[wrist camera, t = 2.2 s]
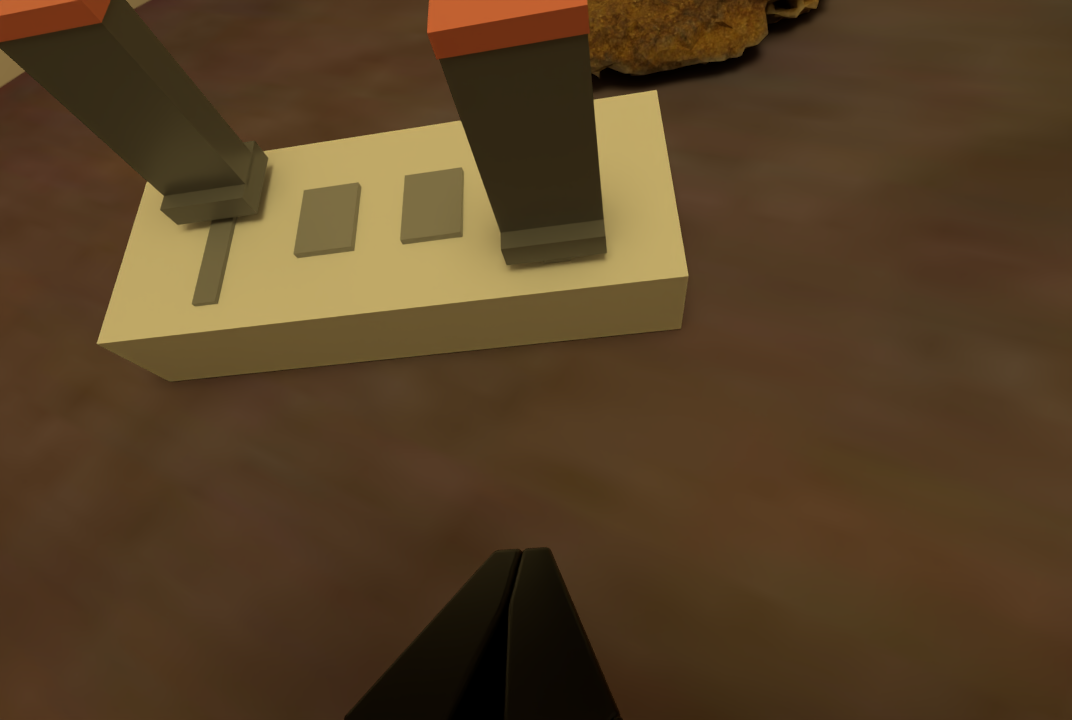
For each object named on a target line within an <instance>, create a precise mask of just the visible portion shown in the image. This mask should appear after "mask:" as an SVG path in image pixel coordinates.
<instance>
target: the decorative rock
mask: <svg viewBox="0 0 1072 720" xmlns="http://www.w3.org/2000/svg"><path fill="white" fill-rule="evenodd" d="M818 3H819V0H587V4H588V15H589V27H590V33H589V34H588V42H589V53H590V65H591V73H592V74H594V75H596V76H598V77H599V79H600V71H601V70H603V69H605V68H607V67H609V68H611V69H614V70H617V71H619V72H622V73H625V74H627V73H630V76H639V75H646V74H651V73H655V72H659V71H664V70H672V69H676V68H680V67H683V66H688V65H693V64H698V63H700V64H705V65H706V64H707V63H708V62H714V61H725V60H726V59H728V58H734V57H739V56H741V55H742V54H743V51H744V49H747V48H750V47H753V46H755V45H758V44H759V43H760V42H761V41H762V40H763V39H764V38H765V37H766V36H767V35H768V27H767V24H771V23H777V22H778V21H779V20H781V19H793V18H796V17H797V16H798V15H800V14H804V13H809V11H810V9H817V6H818Z"/></svg>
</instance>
